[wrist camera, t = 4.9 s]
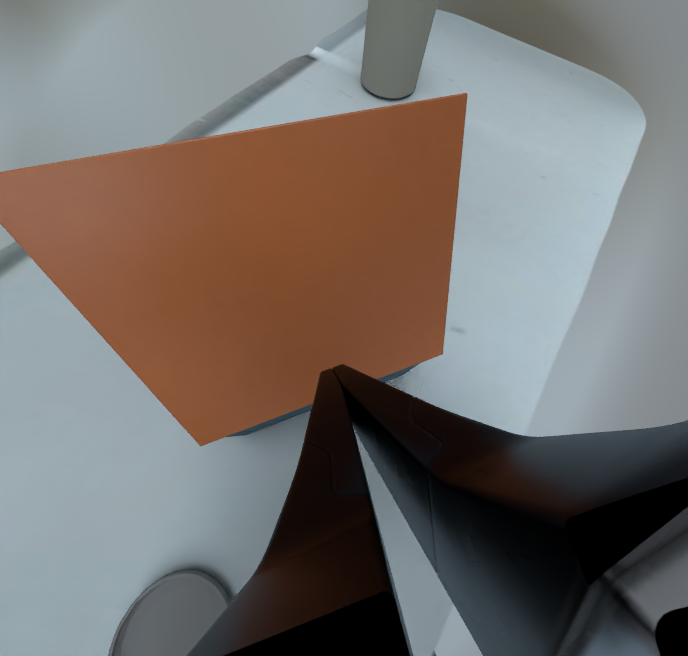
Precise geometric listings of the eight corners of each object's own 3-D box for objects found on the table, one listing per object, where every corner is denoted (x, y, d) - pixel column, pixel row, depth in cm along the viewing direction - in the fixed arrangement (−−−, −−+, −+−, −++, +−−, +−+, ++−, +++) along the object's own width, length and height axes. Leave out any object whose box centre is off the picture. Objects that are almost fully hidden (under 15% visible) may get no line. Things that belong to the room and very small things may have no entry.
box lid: (-14, 177, 6) (-42, 178, 6) (451, 97, 9) (468, 92, 8) (202, 432, 13) (200, 446, 12) (434, 346, 16) (442, 354, 15)
